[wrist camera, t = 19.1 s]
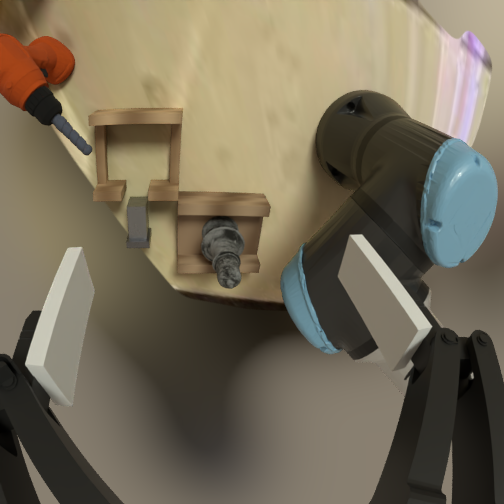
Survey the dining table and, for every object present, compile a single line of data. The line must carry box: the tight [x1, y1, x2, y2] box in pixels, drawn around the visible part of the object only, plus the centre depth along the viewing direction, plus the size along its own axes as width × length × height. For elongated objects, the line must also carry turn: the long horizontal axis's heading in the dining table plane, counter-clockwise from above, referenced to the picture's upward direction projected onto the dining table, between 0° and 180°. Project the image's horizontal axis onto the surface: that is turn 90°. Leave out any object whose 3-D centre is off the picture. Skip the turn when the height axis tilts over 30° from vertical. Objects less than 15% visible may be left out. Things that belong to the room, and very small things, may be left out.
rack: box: [178, 191, 271, 273], centre depth 44 cm, size 12×11×4 cm
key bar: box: [127, 197, 151, 248], centre depth 41 cm, size 3×6×4 cm, turn 172°
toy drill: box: [0, 33, 92, 155], centre depth 23 cm, size 5×19×15 cm, turn 39°
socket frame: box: [89, 108, 183, 202], centre depth 35 cm, size 11×11×4 cm
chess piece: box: [201, 216, 245, 289], centre depth 40 cm, size 6×6×12 cm
